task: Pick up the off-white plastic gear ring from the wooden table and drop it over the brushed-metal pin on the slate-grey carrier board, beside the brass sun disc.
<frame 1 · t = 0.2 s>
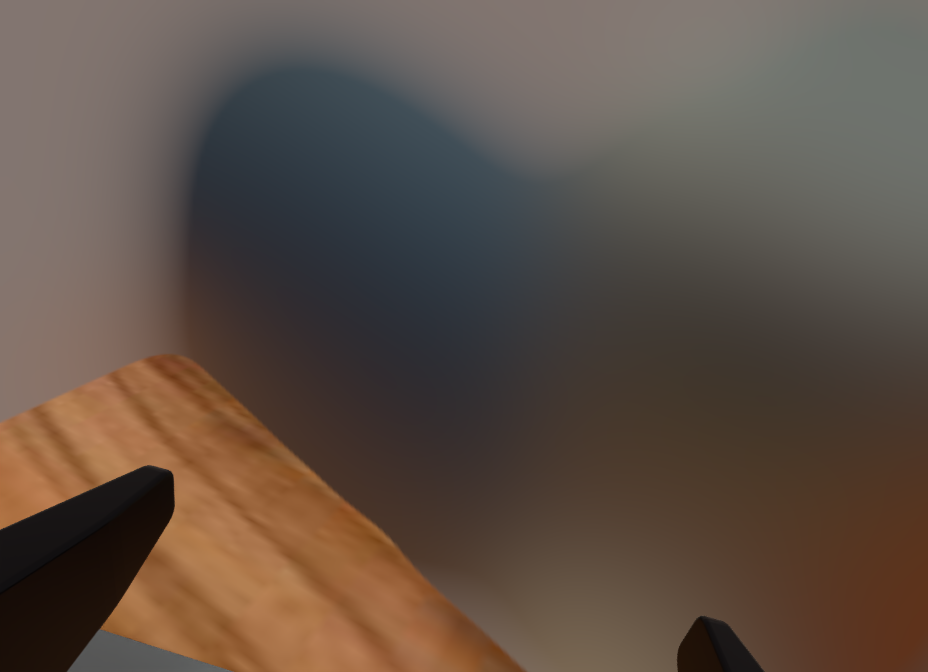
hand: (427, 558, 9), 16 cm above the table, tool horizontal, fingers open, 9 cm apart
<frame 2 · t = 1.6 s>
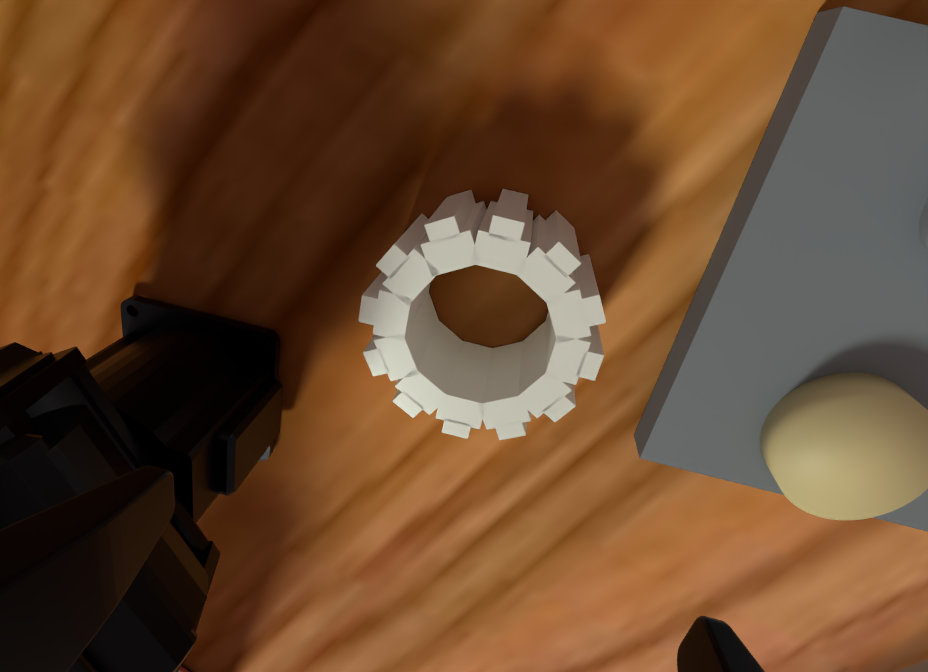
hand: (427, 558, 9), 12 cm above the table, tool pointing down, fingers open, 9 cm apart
carrier board: (883, 303, 19), on the table
planet gear: (490, 291, 20), on the table
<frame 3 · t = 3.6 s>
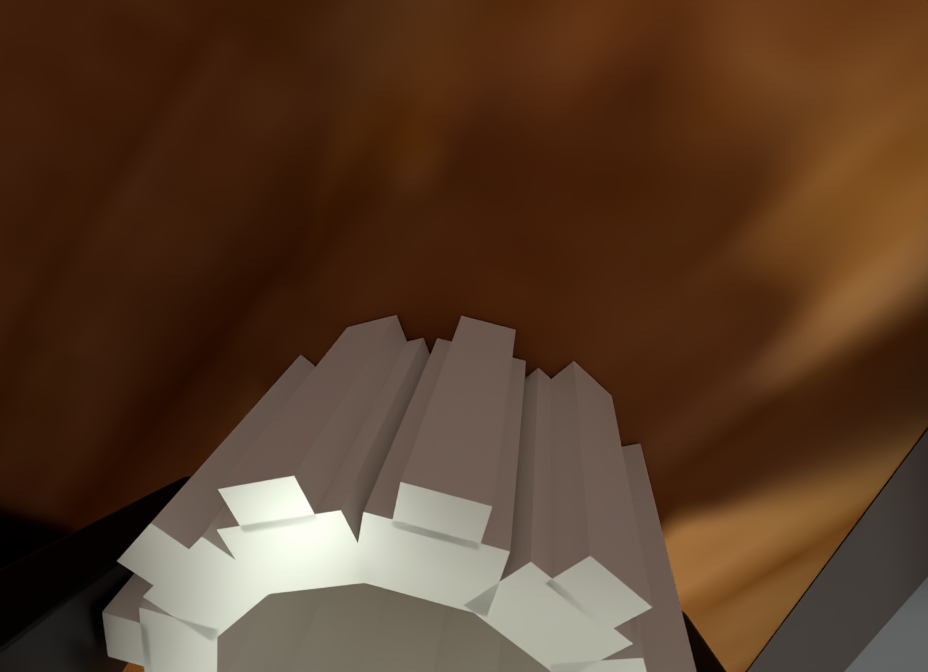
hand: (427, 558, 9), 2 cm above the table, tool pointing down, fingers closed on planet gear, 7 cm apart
planet gear: (443, 495, 10), on the table, touching gripper
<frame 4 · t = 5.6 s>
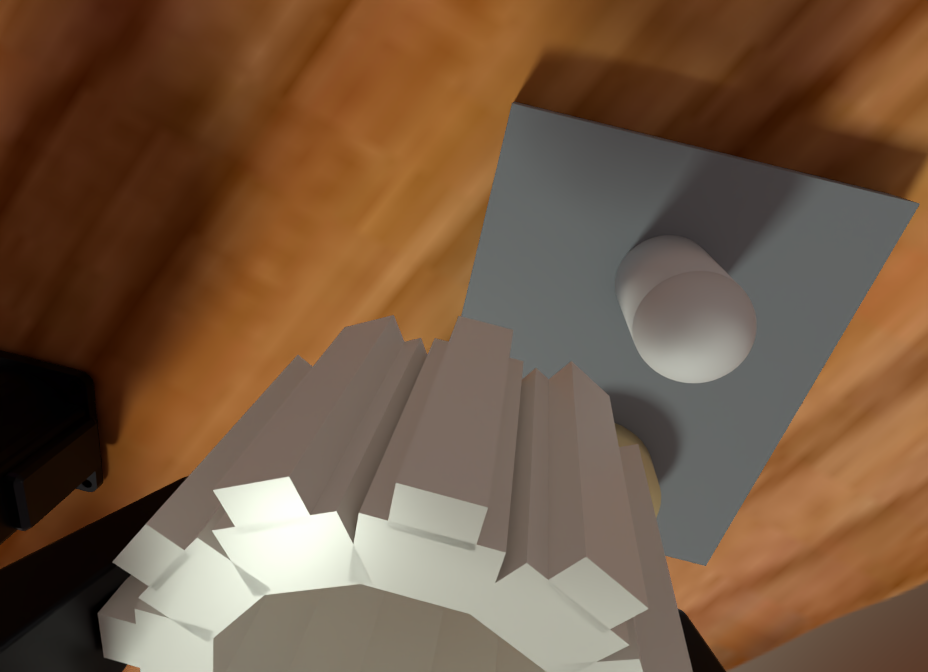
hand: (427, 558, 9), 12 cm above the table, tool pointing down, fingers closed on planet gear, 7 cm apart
carrier board: (619, 354, 20), on the table
planet gear: (441, 495, 10), point 11 cm above the table, touching gripper
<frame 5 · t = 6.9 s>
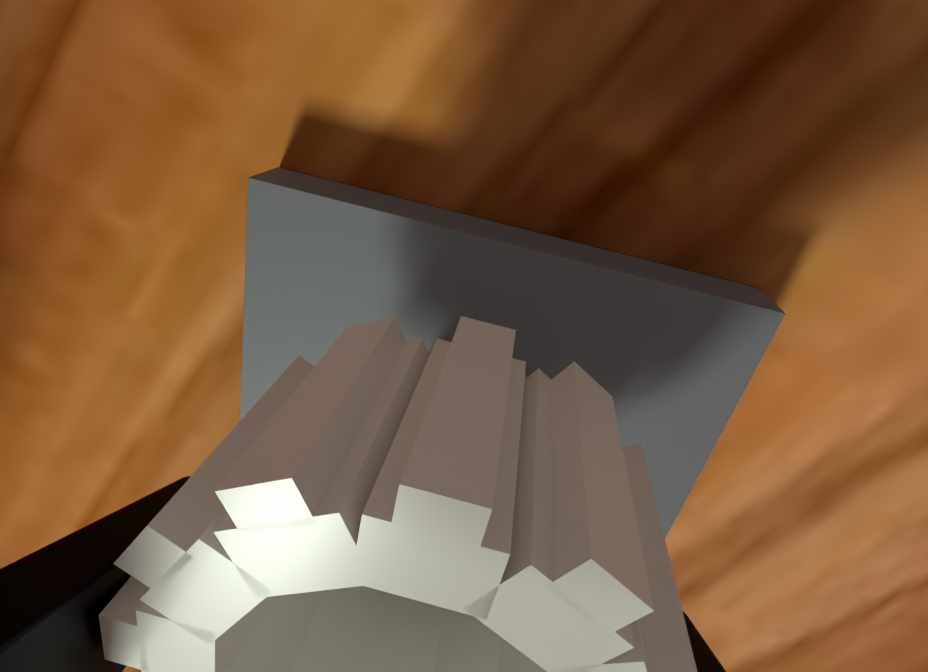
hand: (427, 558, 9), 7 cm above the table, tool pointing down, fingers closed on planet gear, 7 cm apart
carrier board: (453, 464, 17), on the table
planet gear: (443, 496, 10), point 5 cm above the table, touching gripper
when the fingers open (5 cm above the table, at t = 7.8 s): planet gear drops 2 cm, resting on carrier board.
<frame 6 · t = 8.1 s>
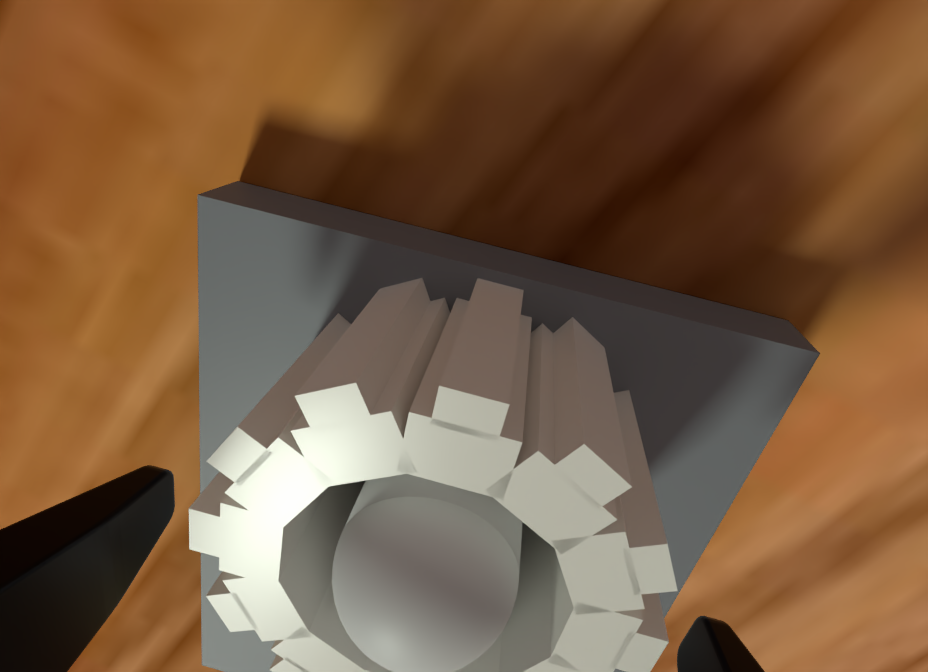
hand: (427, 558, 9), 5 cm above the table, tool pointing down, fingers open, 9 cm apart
carrier board: (440, 507, 15), on the table
planet gear: (458, 439, 12), point 1 cm above the table, touching carrier board
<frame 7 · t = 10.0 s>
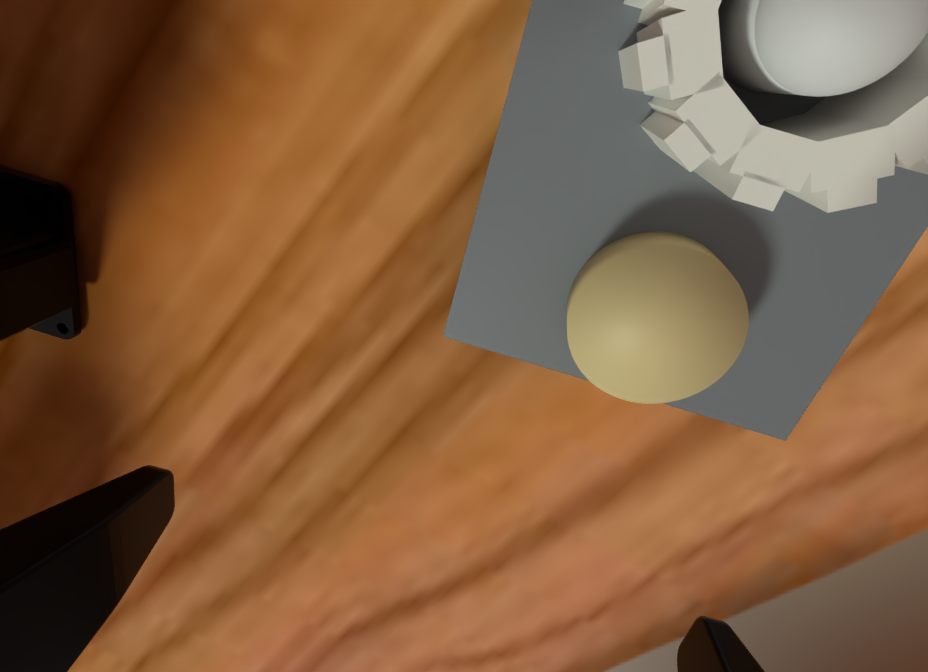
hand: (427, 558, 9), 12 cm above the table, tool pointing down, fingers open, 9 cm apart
carrier board: (700, 159, 16), on the table
planet gear: (776, 24, 14), point 1 cm above the table, touching carrier board
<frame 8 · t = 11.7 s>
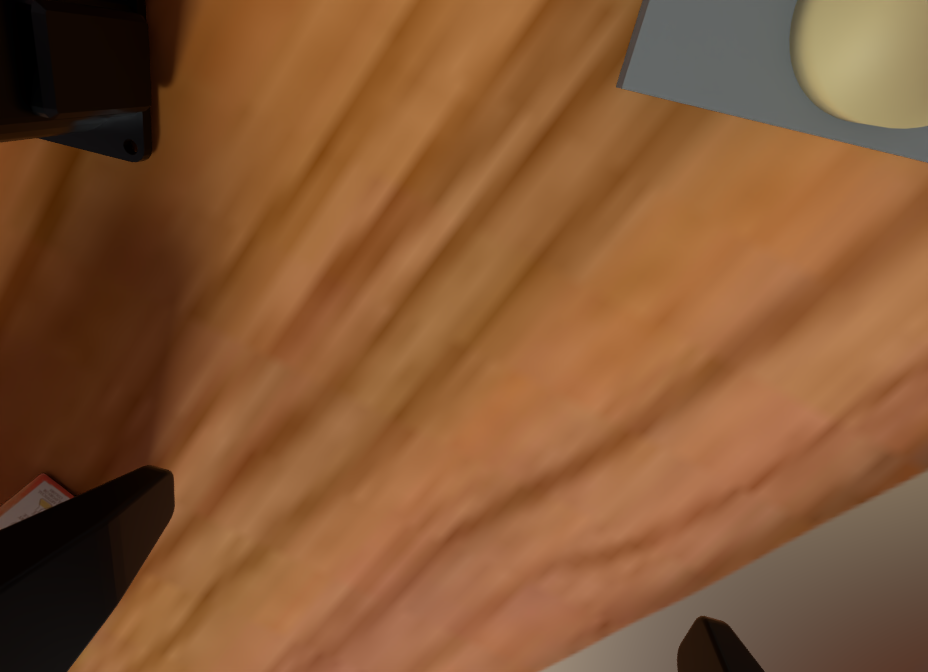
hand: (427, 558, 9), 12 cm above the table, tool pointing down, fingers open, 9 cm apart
cracker box: (36, 556, 31), on the table
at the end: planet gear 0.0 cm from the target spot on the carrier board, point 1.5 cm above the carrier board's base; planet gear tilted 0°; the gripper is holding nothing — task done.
